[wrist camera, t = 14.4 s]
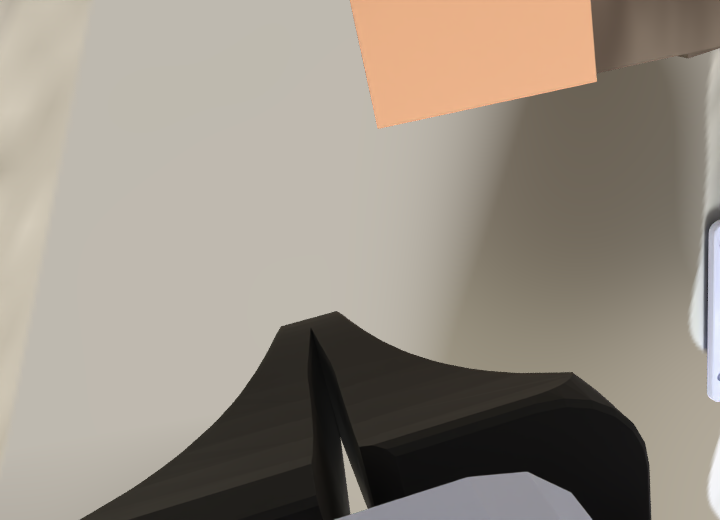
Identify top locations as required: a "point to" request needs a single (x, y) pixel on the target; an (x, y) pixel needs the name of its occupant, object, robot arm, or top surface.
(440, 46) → the peach block
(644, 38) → the domino block
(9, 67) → the top surface
